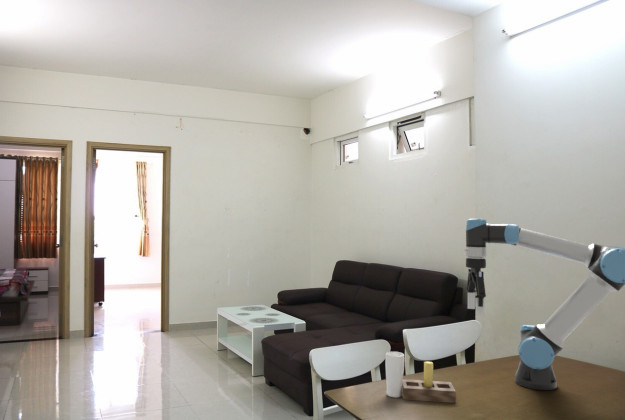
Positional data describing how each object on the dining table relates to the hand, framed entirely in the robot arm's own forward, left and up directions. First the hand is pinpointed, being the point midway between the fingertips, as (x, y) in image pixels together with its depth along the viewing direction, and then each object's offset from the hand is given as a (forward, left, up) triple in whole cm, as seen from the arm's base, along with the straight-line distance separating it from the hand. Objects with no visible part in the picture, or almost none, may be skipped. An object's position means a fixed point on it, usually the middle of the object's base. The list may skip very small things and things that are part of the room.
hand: (475, 311), depth 192 cm
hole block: (+20, +16, -28) cm, 38 cm away
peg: (+20, +16, -28) cm, 38 cm away
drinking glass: (+32, +18, -29) cm, 47 cm away
